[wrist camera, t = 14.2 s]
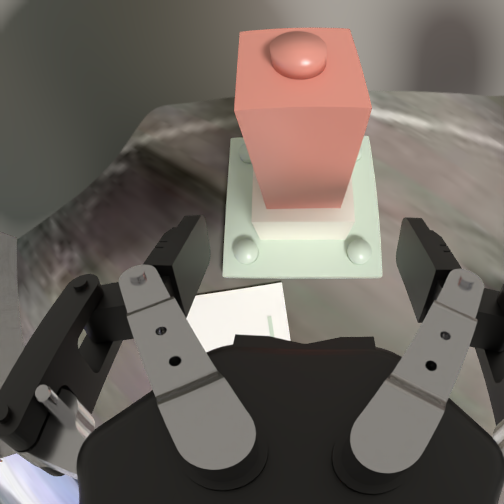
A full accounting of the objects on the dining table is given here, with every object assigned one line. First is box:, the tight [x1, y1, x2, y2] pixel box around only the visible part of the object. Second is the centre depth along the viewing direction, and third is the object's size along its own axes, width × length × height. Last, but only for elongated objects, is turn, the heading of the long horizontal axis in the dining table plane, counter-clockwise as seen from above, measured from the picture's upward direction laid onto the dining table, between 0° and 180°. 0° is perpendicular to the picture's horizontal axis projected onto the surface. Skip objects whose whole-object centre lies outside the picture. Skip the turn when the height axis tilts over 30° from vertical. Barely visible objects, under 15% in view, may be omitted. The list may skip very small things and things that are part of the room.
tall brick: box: [234, 28, 372, 209], centre depth 14 cm, size 5×5×11 cm
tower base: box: [223, 136, 382, 279], centre depth 22 cm, size 12×12×6 cm
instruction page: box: [186, 282, 291, 352], centre depth 23 cm, size 9×12×1 cm
